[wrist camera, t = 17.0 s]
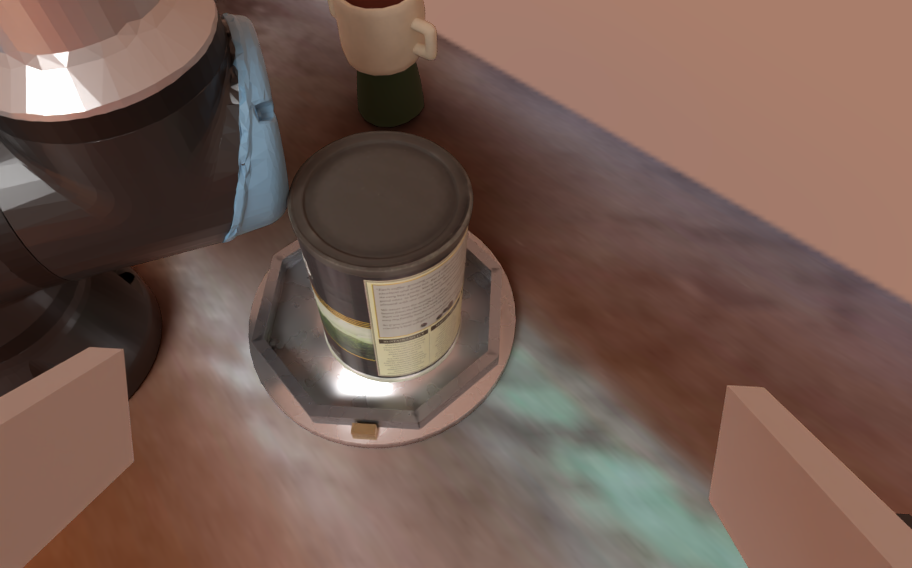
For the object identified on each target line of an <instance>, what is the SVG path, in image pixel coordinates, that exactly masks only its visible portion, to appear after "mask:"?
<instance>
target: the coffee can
mask: <svg viewBox="0 0 912 568" xmlns="http://www.w3.org/2000/svg"><path fill="white" fill-rule="evenodd" d="M472 209H473V191H472V187H471V183H470V180H469V177H468V175H467V173H466V171H465V170H464V168H463V167H462V165H461V164H460V163H459V162H458V161H457V159H456V158H455V157H454V156H453V155H452V154H450V153H449V152H448V151H447V150H445V149H444V148H442V147H441V146H439V145H437V144H436V143H434V142H432V141H430V140H428V139H425V138H423V137H420V136H417V135H413V134H409V133H404V132H397V131H370V132H362V133H357V134H353V135H349V136H347V137H344V138H341V139H339V140H336V141H334V142H332V143H330V144H328V145H327V146H325V147H323V148H322V149H320V150H319V151H317V152H316V153H314V154H313V155H312V156H311V157H310V158H309V159H307V160H306V162H305V163H304V164H303V165H302V166H301V168H300V169H299V170H298V172H297V173H296V175H295V177H294V179H293V182H292V184H291V187H290V190H289V195H288V214H289V219H290V222H291V225H292V228H293V230H294V232H295V234H296V236H297V238H298V242H299V245H300V248H301V251H302V255H303V259H304V262H305V266H306V269H307V273H308V276H309V279H310V282H311V286H312V289H313V293H314V296H315V299H316V303H317V306H318V310H319V314H320V317H321V321H322V324H323V329H324V334H325V339H326V342H327V345H328V347H329V349H330V351H331V352H332V354H333V356H334V357H335V358H336V359H337V361H338V362H339V363H341V364H342V365H343V366H344V367H345V368H346V369H348V370H349V371H351V372H352V373H354V374H356V375H358V376H360V377H363V378H366V379H369V380H373V381H378V382H386V383H391V382H402V381H407V380H411V379H415V378H418V377H420V376H422V375H424V374H426V373H428V372H430V371H432V370H434V369H435V368H436V367H438V366H439V365H440V364H441V363H442V362H443V361H444V360H445V359H446V358H447V357H448V356H449V354H450V353H451V351H452V350H453V348H454V347H455V344H456V342H457V340H458V337H459V334H460V329H461V305H462V294H463V283H464V272H465V260H466V248H467V236H468V225H469V222H470V219H471V215H472Z"/></svg>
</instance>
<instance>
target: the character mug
mask: <svg viewBox="0 0 912 568" xmlns="http://www.w3.org/2000/svg"><path fill="white" fill-rule="evenodd" d="M328 4H329V9H330V12H331V15H332V16H333V17H334V18H336V20H337V25H338V30H339V36H340V41H341V46H342V49H343V51H344V54H345V56H346V58H347V60H348V63H349V64H350V65H351V66H353V67H354V68H355V69H356V70H357V98H358V110H359V112H360V113H361V115H362V116H363V118H364V119H365V120H366V121H368V122H370V123H372V124H374V125H376V126H379V127H394V126H397V125H400V124H404V123H407V122H408V121H410V120H411V119H413V118H414V117H416V116H417V115H419V113H420V112H421V110H422V109H423V108H424V99H423V92H422V86H421V80H420V76H419V72H418V68H417V64H416V61H417V59H418V57H419V56H420V57H422V58H424V59H427V60H435V58H436V55H437V31H436V28H435V26H434V25H433V24H431V23H430V22H427V21H425V7H424V2H423V0H328Z"/></svg>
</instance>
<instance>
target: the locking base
mask: <svg viewBox="0 0 912 568" xmlns="http://www.w3.org/2000/svg"><path fill="white" fill-rule="evenodd" d="M515 322H516V318H515V303H514V299H513V294H512V289H511V287H510V284H509V281H508V278H507V276H506V274H505V272H504V270H503V268H502V266H501V265H500V263H499V261H498V260H497V259H496V257H495V256H494V255H493V253H492V252H491V251H490V250H489V249H488V247H487V246H486V245H485V244H484V243H483V242H482V241H481V240H480V239H478V238H477V237H476V236H475V235H473V234H472V233H471V232H470V231H468V236H467V248H466V260H465V272H464V283H463V294H462V305H461V329H460V334H459V337H458V340H457V342H456V344H455V347H454V348H453V350H452V351H451V353H450V354H449V356H448V357H447V358H446V359H445V360H444V361H443V362H442V363H441V364H440V365H439V366H438V367H436V368H435V369H434V370H432V371H430V372H428V373H426V374H424V375H422V376H420V377H418V378H415V379H411V380H407V381H402V382H391V383H386V382H378V381H373V380H369V379H366V378H363V377H360V376H358V375H356V374H354V373H352V372H351V371H349V370H348V369H346V368H345V367H344V366H343V365H342V364H341V363H339V362H338V361H337V359H336V358H335V357H334V356H333V354H332V352H331V351H330V349H329V347H328V345H327V342H326V339H325V334H324V329H323V324H322V321H321V317H320V314H319V310H318V306H317V303H316V299H315V296H314V293H313V289H312V286H311V282H310V279H309V276H308V273H307V269H306V266H305V262H304V259H303V255H302V251H301V248H300V245H299V242H298V239H297V240H295V241H294V242H293V243H291V244H290V245H288V246H287V247H285V248H284V249H282V250H281V251H279V252H277V253H276V254H274V256H273V257H272V261H271V265H270V269H269V270H268V272H267V273H266V275H265V276H264V278H263V280H262V282H261V284H260V286H259V288H258V290H257V293H256V296H255V298H254V301H253V304H252V309H251V314H250V319H249V344H250V353H251V356H252V360H253V364H254V367H255V370H256V372H257V374H258V376H259V379H260V381H261V383H262V384H263V386H264V387H265V389H266V391H267V392H268V394H269V395H270V397H271V398H272V399H273V401H274V402H275V403H276V404H277V405H278V407H279V408H280V409H281V410H282V411H283V412H284V413H285V414H286V415H287V416H288V417H290V418H291V419H292V420H293V421H294V422H296V423H297V424H298V425H300V426H301V427H303V428H305V429H306V430H308V431H310V432H311V433H313V434H315V435H317V436H320V437H322V438H324V439H327V440H329V441H332V442H336V443H340V444H343V445H347V446H354V447H362V448H389V447H397V446H404V445H408V444H412V443H416V442H420V441H423V440H426V439H428V438H431V437H433V436H436V435H438V434H440V433H442V432H444V431H446V430H448V429H449V428H451V427H453V426H455V425H456V424H458V423H459V422H460V421H462V420H463V419H464V418H466V417H467V416H468V415H470V414H471V413H472V412H473V411H474V410H475V409H476V408H477V407H478V406H479V405H480V404H481V403H482V402H483V401H484V400H485V399H486V398H487V397H488V395H489V394H490V393H491V391H492V390H493V389H494V388H495V386H496V384H497V382H498V381H499V379H500V377H501V376H502V374H503V372H504V369H505V367H506V365H507V362H508V360H509V357H510V353H511V349H512V345H513V340H514V333H515Z"/></svg>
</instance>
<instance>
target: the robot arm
mask: <svg viewBox="0 0 912 568" xmlns="http://www.w3.org/2000/svg"><path fill="white" fill-rule="evenodd" d="M288 195H289V185H288V177H287V170H286V163H285V157H284V152H283V146H282V141H281V136H280V131H279V126H278V122H277V118H276V115H275V113H274V104H273V100H272V96H271V88H270V84H269V79H268V75H267V71H266V66H265V62H264V58H263V55H262V51H261V47H260V44H259V40H258V37H257V34H256V31H255V28H254V26H253V24H252V22H251V21H250V19H249V18H247V17H245V16H242V15H232V14H228V13H225V14H222V15H221V16H220V15H219V12H218V10H217V7H216V4H215V2H214V0H0V568H23V567H24V566H25V565H26V564H27V563H28V562H29V561H30V560H31V559H32V558H33V557H34V556H35V555H36V554H37V553H38V552H39V551H40V550H41V549H42V548H44V547H45V546H46V545H47V544H48V543H49V542H50V541H51V540H52V539H53V538H54V537H55V536H56V535H57V534H58V533H59V532H60V531H61V530H62V529H63V528H64V527H66V526H67V525H68V524H69V523H70V522H71V521H72V520H73V519H74V518H75V517H76V516H77V515H78V514H79V513H80V512H81V511H82V510H83V509H84V508H85V507H87V506H88V505H89V504H90V503H91V502H92V501H93V500H94V499H95V498H96V497H97V496H98V495H99V494H100V493H101V492H102V491H103V490H104V489H105V488H106V487H108V486H109V485H110V484H111V483H112V482H113V481H114V480H115V479H116V478H117V477H118V476H119V475H120V474H121V473H122V472H123V471H124V470H125V469H126V468H127V467H129V466H130V465H131V464H132V463H133V462H134V457H133V446H132V435H131V424H130V414H129V403H128V399H129V398H130V397H131V396H132V395H133V393H134V392H135V391H136V390H137V389H138V387H139V386H140V385H141V383H142V382H143V380H144V379H145V377H146V376H147V374H148V372H149V370H150V368H151V367H152V364H153V362H154V360H155V357H156V355H157V352H158V348H159V345H160V340H161V332H162V320H161V313H160V309H159V305H158V302H157V300H156V298H155V296H154V294H153V293H152V291H151V290H150V288H149V287H148V286H147V285H146V283H145V282H144V281H143V280H142V279H141V277H140V276H139V275H138V274H137V273H136V272H135V271H134V270H133V269H132V268H131V267H130V266H133V265H137V264H141V263H145V262H149V261H152V260H156V259H160V258H164V257H168V256H171V255H175V254H179V253H183V252H187V251H190V250H194V249H198V248H202V247H206V246H209V245H213V244H217V243H221V242H222V243H223V242H229V241H231V240H233V239H234V238H235V237H236V236H238V235H241V234H244V233H247V232H250V231H253V230H255V229H258V228H261V227H264V226H267V225H270V224H272V223H274V222H275V221H277V220H278V219H279V218H280V217H281V216H282V215H283V214H284V212H285V210H286V208H287V206H288ZM709 501H710V503H711V505H712V506H713V508H714V510H715V511H716V513H717V515H718V517H719V518H720V520H721V522H722V523H723V525H724V527H725V528H726V530H727V532H728V534H729V535H730V537H731V539H732V540H733V542H734V544H735V546H736V547H737V549H738V551H739V552H740V554H741V556H742V558H743V559H744V561H745V563H746V564H747V566H748V568H912V516H911V515H909V514H895V513H894V512H893V511H892V510H891V509H890V508H889V507H888V506H887V505H886V504H885V503H884V502H883V501H882V500H881V499H880V498H879V497H877V496H876V495H875V494H874V493H873V492H872V491H871V490H870V489H869V488H868V487H867V486H866V485H865V484H864V483H863V482H862V481H861V480H860V479H859V478H858V477H857V476H856V475H855V474H854V473H852V472H851V471H850V470H849V469H848V468H847V467H846V466H845V465H844V464H843V463H842V462H841V461H840V460H839V459H838V458H837V457H836V456H835V455H834V454H833V453H832V452H831V451H830V450H829V449H827V448H826V447H825V446H824V445H823V444H822V443H821V442H820V441H819V440H818V439H817V438H816V437H815V436H814V435H813V434H812V433H811V432H810V431H809V430H808V429H807V428H806V427H805V426H804V425H802V424H801V423H800V422H799V421H798V420H797V419H796V418H795V417H794V416H793V415H792V414H791V413H790V412H789V411H788V410H787V409H786V408H785V407H784V406H783V405H782V404H781V403H780V402H778V401H777V400H776V399H775V398H774V397H773V396H772V395H771V394H770V393H769V392H768V391H767V390H766V389H765V388H764V387H748V386H732V385H727V390H726V396H725V402H724V408H723V414H722V421H721V427H720V433H719V439H718V445H717V451H716V458H715V464H714V470H713V476H712V482H711V488H710V495H709Z"/></svg>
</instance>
